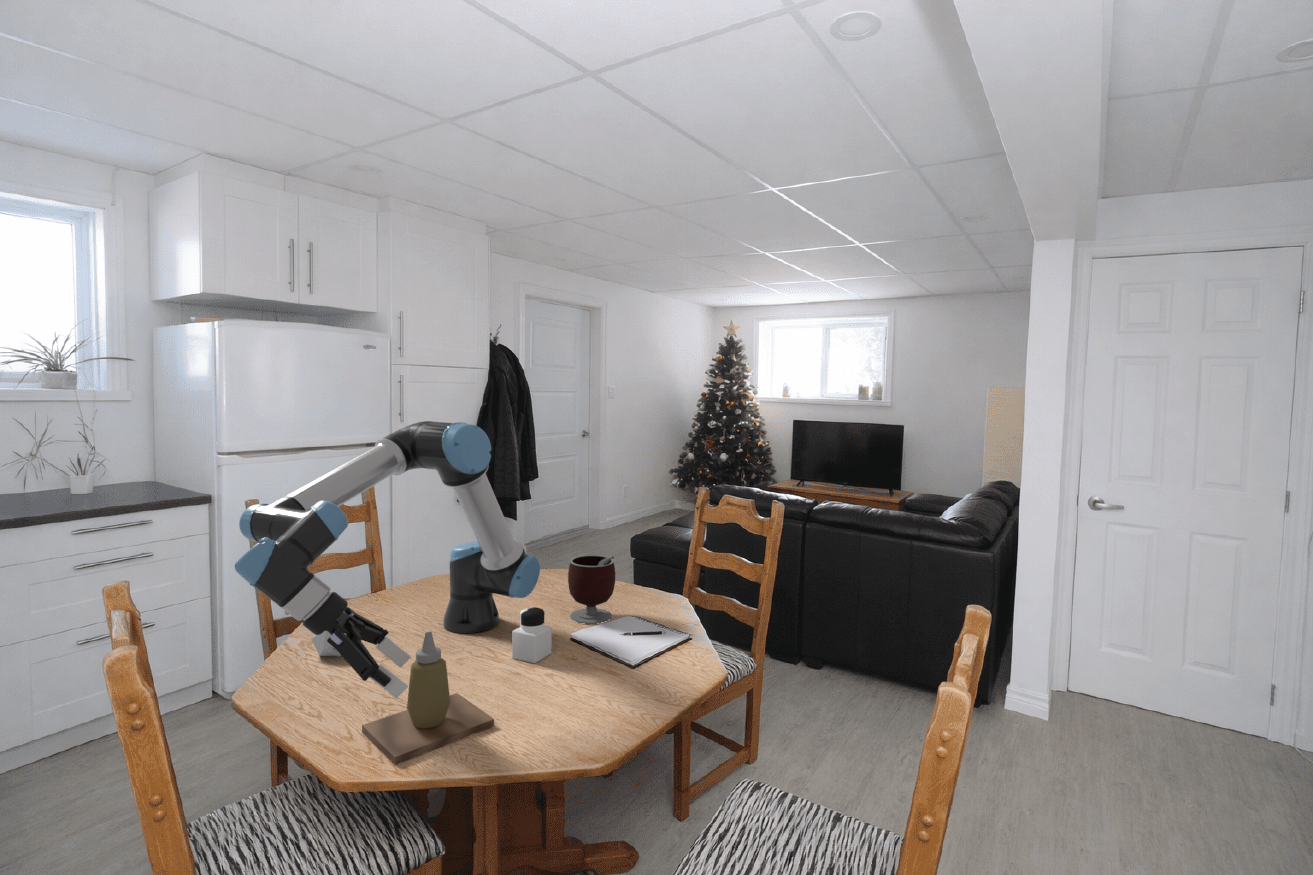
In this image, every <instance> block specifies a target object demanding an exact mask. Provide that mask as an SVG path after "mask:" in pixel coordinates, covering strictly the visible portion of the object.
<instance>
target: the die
mask: <svg viewBox="0 0 1313 875" xmlns="http://www.w3.org/2000/svg"><path fill="white" fill-rule="evenodd" d="M330 636H331V634H330V633H329V632H328V631H324V632H323V633H322V634H320V635H315V634H314V633H313V636H312V637H311V638H310V639H311V642H312V644H313V646H314V648H315V650H316V652H317V654H318V656H319V657H342V656H341V654H340V653H339V652H338V651H337V650H336V649H335V648H334V647H333V646H332V645H330V644H329V643H328V642H327V639H328V638H329V637H330Z"/></svg>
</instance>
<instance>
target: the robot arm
mask: <svg viewBox="0 0 1313 875" xmlns="http://www.w3.org/2000/svg"><path fill="white" fill-rule="evenodd" d="M488 436H489V435H487V433H486V432H485V431H484V430H483V429H482V428H481V427H480V426H477V425H476V424H472V423H470V424H469V423H467V422H461V421H460V422H456V421H455V422H443V421H430V420H429V421H428V420H424V421H419V422H416V423H412V424H410V425H406V426H404V427H401V428H400V429H398V430H397V429H396V430H395V431H394V432H391V433H389V434H387V435H386V436H383V437H381V438H379V439H378V440H377V441H376V442H375V444H374V447H373V448H371V449H369V450H367V451H365V452H364V453H362V454H360V455H358V456H356V457H355V458H352V459H350V460H349V461H347V462H345V463H344V464H341V465H340V466H338V467H336V468H334V469H332V470H331V471H329V472H327V473H325V474H323V475H322V476H320V477H317V478H316V479H314V480H312V481H311V482H308V483H307V484H305V485H303V486H301V487H299V488H298V489H295V490H293V491H292V492H290V493H288V494H286V495H285V496H283V497H281V498H280V499H279V498H278V499H277V500H276V501H275V500H274V502H271V503H270V504H268V503H257V504H253V505H251V506H249V507H247V508H246V509H245V510H244V511H243V513H242V514H241V515H240V518H239V524H238V526H239V530H240V533H241V534H242V535H243V536H244V537H245V538H246V539H247V540H250V541H253V542H256V543H255V544H254V545H253V546H252V547H251V548H250V549H249V550H248V551H247V552H245V553H244V554H243V555H242V556H241V557H240V558H239V559H238V560H237V561H236V562H235V564H234V570H235V572H236V573H237V574H238V575H239V576H240V577H242V579H244V580H245V581H246V582H247V583H248V584H249V586H251V587H254V588H255V589H256V590H257V591H258V592H260V593H262V594H263V596H266V597H267V598H268V599H269V600H271V602H273V603H275V604H276V605H277V606H278V607H280V608H281V609H282V610H284V615H285V616H289V615H290V616H291V617H292V618H294V619H295V620H296V621H302V626H304V628H306V629H307V630H308V631H309V632H311V633H313V635H314V634H315V635H320V634H322V633H323V632H324V631H328V632H329V633H330V634H331V636H330V637H329V638H328V639H327V642H328V643H329V644H330V645H332V646H333V647H334V648H335V649H336V650H337V651H338V652H339V653H340V654H341V656H340V657H342V658H343V659H344V660H345V661H346V663H348V664H349V666H350V667H351V668H352V669H353V670H354V671H355V673H356V674H357V675H358V677H360V678H361V680H362V681H364V682H366V681H368V679H371V680H372V681H373V682H375V683H376V684H377V685H379V686H380V687H381V688H382V689H384V690H385V692H386V691H387V692H388V693H389V694H390V695H391V696H392V697H394V698H395V699H398V698H399V697H400V696H401V695H402V694H403V693H404V692H405V691H406V690H407V689H409V685H408V684H407V683H405V682H404V681H403V680H402V679H401V678H399V677H398V676H397V675H396V674H394V673H393V672H391V670H389V669H388V668H387V667H385V665H383V664H382V663H380V664H378V662H377V661H376V659H375V658H374V657H373V656H372V655H371V653H370V651H369V650H368V648H367V647H366V646H365V645H364V643H363V642H362V641H364V642H366V643H370V644H372V645H375V646H376V647H375V649H377V650H378V651H379V652H380V653H381V654H382V655H384V656H385V657H386V658H387V659H389V660H390V661H391V662H392V663H394V664H395V665H396V666H398V667H399V668H400V669H401V668H403V666H404V665H405V664H406V663H407V662H408V661H409V660H410V659H412V656H411V655H410V654H409V653H407V651H405V650H404V649H403V648H402V647H400V646H399V645H398V644H396V643H395V642H394V641H393V640H392V639H390V638H389V637H388V636H387V635H389V634H390V632H389V631H388V630H387V629H384V628H383V627H382V626H380V625H378V624H377V623H375V622H373V621H371V620H370V619H368V618H366V617H364V616H362V615H361V614H359V613H358V612H356V611H354V610H353V609H351V608H350V607H349V606H348V605H349V604H348V601H347V600H345V598H343V597H342V596H340V594H338V593H337V592H334V591H331V587H330V586H329V585H328V584H326V582H324V581H323V580H322V579H320V578H319V577H318V576H316V575H315V573H313V572H311V571H310V570H309V569H308V568H309V567H310V566H312V564H313V563H314V562H315V561H316V560H317V559H319V557H320V556H321V555H322V554H323V553H325V551H327V549H329V547H331V546H332V544H334V543H335V542H336V541H338V539H339V537H340V536H341V535H342V534H343V533H344V532H345V530H346V529H347V528H348V526H349V518H348V516H347V515H346V513H345V512H344V511H343V510H342V509H341V508H340V506H342V505H344V504H346V503H347V502H349V501H351V500H353V499H354V498H356V497H358V496H359V495H361V494H362V493H364V492H365V491H368V490H369V489H371V488H372V487H374V486H376V485H378V484H379V483H380V482H383V481H384V480H385V479H387V478H389V477H390V476H401V475H402V474H404V473H406V472H407V471H412V470H415V469H416V470H417V469H427V470H435V471H436V472H437V473H438V475H439V478H440V480H441V482H442V483H443V485H444V486H446V487H449V488H452V490H453V491H454V494H455V497H456V499H457V500H458V502H459V505H460V507H461V509H462V512H463V513H464V515H465V517H466V520H467V522H468V523H469V526H470V528H471V530H472V533H473V535H474V537H475V539H476V541H472V542H465V543H462V544H459V545H458V544H457V545H455V546H454V547H452V549H451V551H450V556H449V561H448V562H449V600H448V603H447V607H446V610H445V612H444V616H443V628H444V629H445V630H446V631H449V632H453V633H459V634H473V633H479V632H485V631H487V630H491V629H493V628H495V627H496V626H498V625H499V621H500V615H499V614H500V613H499V611H498V608H497V605H496V601H495V599H494V596H493V594H495V595H500V596H505V597H509V598H513V599H514V598H515V599H516V598H518V599H523V598H526V597H528V596H529V595H530V594H532V592H533V591H534V590H535V588H536V586H537V584H538V581H539V578H540V572H541V564H540V561H539V559H538V558H537V557H536V556H535V555H532V554H527V553H526V551H525V548H524V547H523V544H522V543H521V541H519V540H517V539H515V538H514V537H513V534H512V533H511V530H510V528H509V526H508V523H507V521H506V519H505V516H504V513H503V511H502V509H501V506H500V504H499V502H498V500H497V497H496V495H495V493H494V490H493V488H492V485H491V483H490V481H489V479H488V478H489V477H488V476H487V472H488V470H489V464H490V461H491V458H492V454H491V453H490V452H491V451H492V445H491V444H492V443H491V442H490V438H489V437H488ZM330 591H331V592H330Z"/></svg>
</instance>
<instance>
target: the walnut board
mask: <svg viewBox="0 0 1313 875" xmlns="http://www.w3.org/2000/svg"><path fill="white" fill-rule="evenodd" d="M449 695H450V704H449V707H448V710H447V713H446V716H445V719H444V721H443V722H442V723H441V724H439V725H438V726H435V727H432V728H418V727H415V726H414V725H413V723H412V720H411V718H410V715H409V712H408V710H407V709H406V710H403V711H400V712H399V711H398V712H397V713H394V714H391V715H387V716H385V717H382V718H380V719H376V720H374V721H370V722H368V723H364V724H362V725H361V733H362V734H363V735H364V736H365V737H366V738H367V739H368V740H369V741H370V742H371V743H372V744H373V745H374V746H375V747H376V748H377V749H378V750H379V751H380V752H381V753H382V754H383V755H384V756H385V757H386V758H387V759H388V760H389V761H390V760H391V761H392V762H391V761H390V762H391V763H392V764H393V763H394V764H393V766H397V765H400V764H402V763H404V761H405V762H407V761H409V760H412V759H415V758H417V757H419V756H422V755H425V754H426V753H430V752H431V751H435V750H438V749H440V748H442V747H445V746H448V745H450V744H452V743H455V742H457V741H460V740H463V739H465V738H467V737H470V736H472V735H473V736H474V735H475V734H478V733H480V732H482V731H486V730H488V729H491V728H493V727H495V718H494V717H492V716H491V715H489V714H488V713H487V712H485V711H484V710H482V709H481V708H479V707H478V706H476V705H475V704H473V703H472V702H471V701H470V700H468V699H467V698H465V697H464V696H462V695H461V694H460V693H458V692H456V693H453V694H449ZM406 760H407V761H406ZM401 762H402V763H401ZM399 763H400V764H399Z"/></svg>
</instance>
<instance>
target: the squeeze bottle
mask: <svg viewBox="0 0 1313 875" xmlns="http://www.w3.org/2000/svg"><path fill="white" fill-rule="evenodd" d="M449 688H450V686H449V678H448V668H447V661H446V660H445V659H444V658H443V657H442V649H441V648H440V647H438V646H436V645H435V640H434V636H433V633H432V631H426V632H425V633H424V637H423V643H422V646H421V648H419V649H418V650H416V651H415V661H414V662H412V663H411V664H410V672H409V685H408V693H407V702H406V710H408V712H409V715H410V718H411V720H412V723H413V725H414V726H415V727H418V728H432V727H435V726H438V725H439V724H441V723H442V722H443V721H444V719H445V716H446V713H447V710H448V707H449V704H450V695H451V694H450V689H449Z"/></svg>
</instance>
